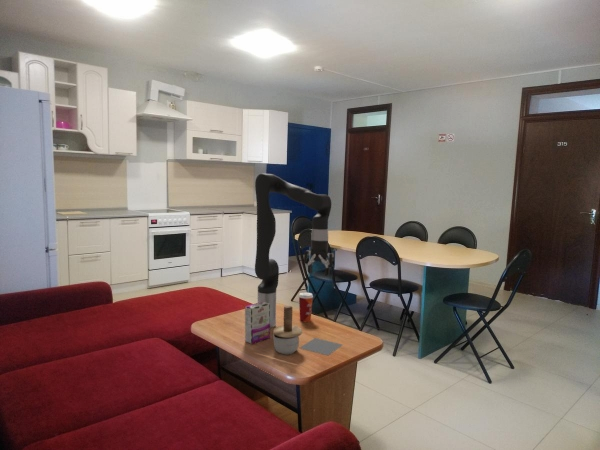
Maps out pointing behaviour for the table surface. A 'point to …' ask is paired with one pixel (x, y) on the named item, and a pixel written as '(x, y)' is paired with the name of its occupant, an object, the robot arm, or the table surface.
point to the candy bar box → (257, 322)
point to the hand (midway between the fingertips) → (318, 274)
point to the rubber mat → (321, 346)
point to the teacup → (286, 344)
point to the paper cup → (305, 306)
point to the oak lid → (287, 326)
